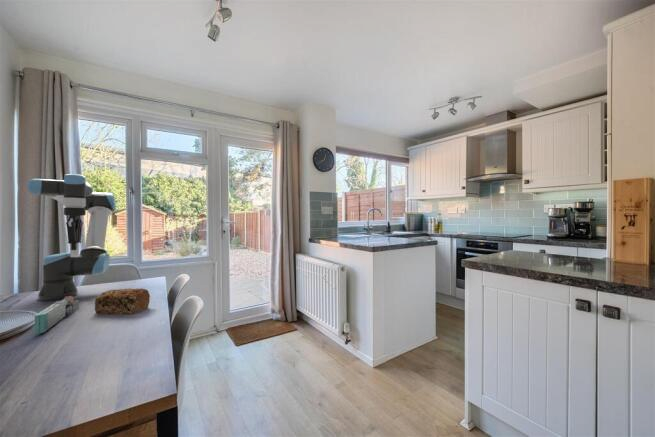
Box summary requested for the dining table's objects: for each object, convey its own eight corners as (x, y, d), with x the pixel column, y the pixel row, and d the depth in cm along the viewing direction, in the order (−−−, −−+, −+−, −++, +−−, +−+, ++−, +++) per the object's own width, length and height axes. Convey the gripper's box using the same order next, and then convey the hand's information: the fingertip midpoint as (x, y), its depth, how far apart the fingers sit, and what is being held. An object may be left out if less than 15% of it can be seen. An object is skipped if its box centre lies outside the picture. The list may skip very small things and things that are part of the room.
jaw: (64, 312, 117) (64, 298, 117) (71, 312, 118) (71, 297, 118) (37, 333, 97) (37, 315, 97) (46, 332, 98) (46, 314, 98)
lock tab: (65, 302, 121) (66, 296, 121) (73, 301, 122) (73, 295, 122) (63, 304, 118) (63, 297, 118) (71, 303, 119) (71, 297, 119)
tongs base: (66, 309, 123) (66, 294, 123) (79, 308, 126) (79, 292, 126) (31, 336, 96) (31, 316, 96) (48, 334, 98) (48, 314, 98)
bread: (150, 307, 128) (150, 286, 128) (133, 315, 117) (133, 293, 117) (113, 306, 129) (113, 286, 129) (93, 314, 118) (93, 292, 118)
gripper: (69, 207, 130) (69, 255, 130) (58, 206, 119) (57, 259, 119) (89, 207, 134) (89, 254, 134) (80, 206, 122) (80, 258, 122)
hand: (74, 256), depth 126 cm, fingers closed
